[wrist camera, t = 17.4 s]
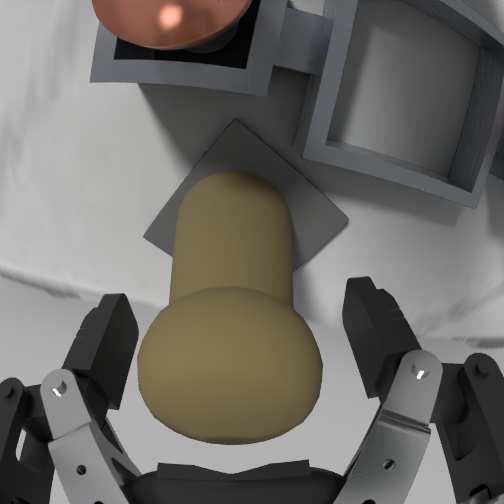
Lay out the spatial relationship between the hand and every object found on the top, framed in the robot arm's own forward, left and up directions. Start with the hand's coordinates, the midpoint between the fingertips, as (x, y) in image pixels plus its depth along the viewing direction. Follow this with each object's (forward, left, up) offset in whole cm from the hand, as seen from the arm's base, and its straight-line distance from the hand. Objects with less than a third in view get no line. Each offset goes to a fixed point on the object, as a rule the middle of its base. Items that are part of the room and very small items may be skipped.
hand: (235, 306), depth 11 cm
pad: (0, 0, -7) cm, 7 cm away
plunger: (-8, +7, -6) cm, 12 cm away
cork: (0, 0, -7) cm, 7 cm away
